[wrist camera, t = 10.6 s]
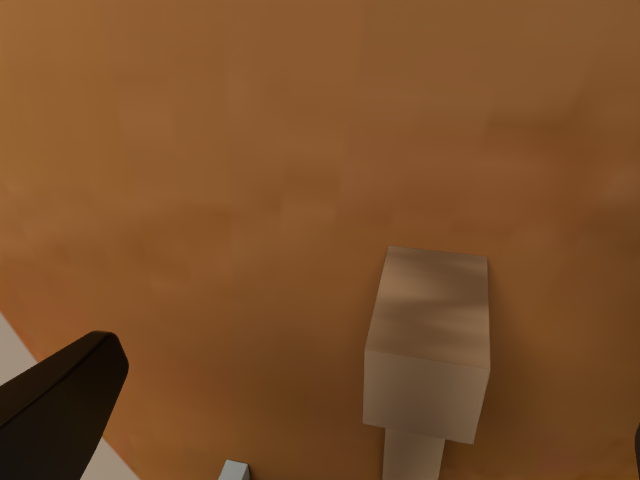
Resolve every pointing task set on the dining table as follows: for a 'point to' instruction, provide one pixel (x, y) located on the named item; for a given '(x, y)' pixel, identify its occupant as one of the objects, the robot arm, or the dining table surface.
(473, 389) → the wooden mallet
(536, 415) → the dining table surface
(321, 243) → the dining table surface
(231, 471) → the grey bridge
